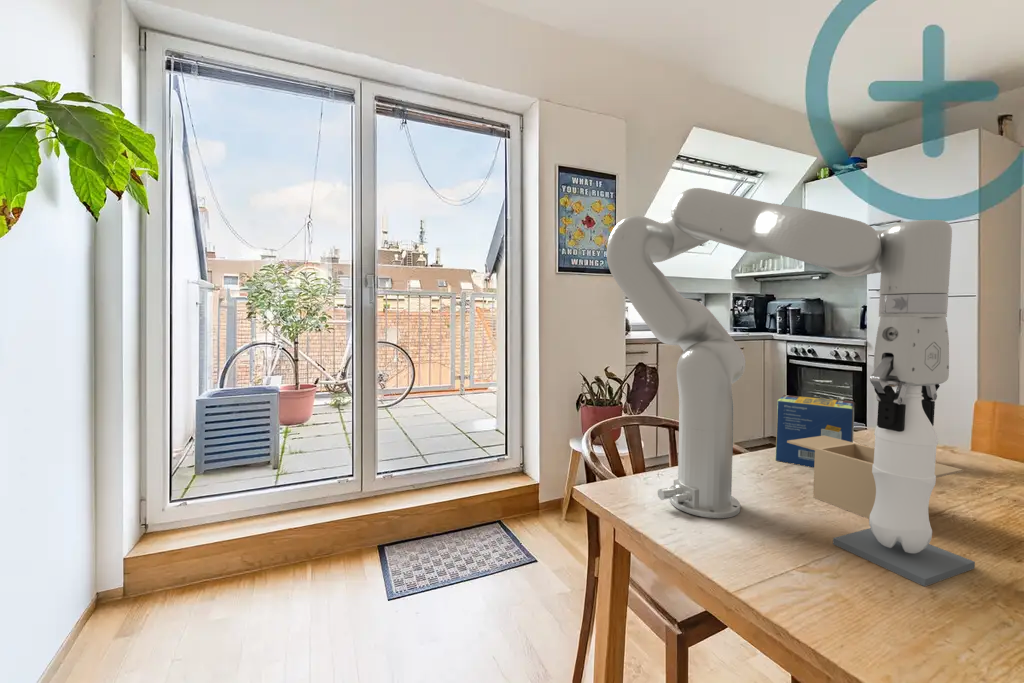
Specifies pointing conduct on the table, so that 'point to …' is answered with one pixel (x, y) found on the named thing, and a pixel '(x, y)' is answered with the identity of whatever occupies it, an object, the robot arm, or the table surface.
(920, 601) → the table surface
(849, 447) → the carton
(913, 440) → the water bottle
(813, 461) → the protein box
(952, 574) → the slate mat
